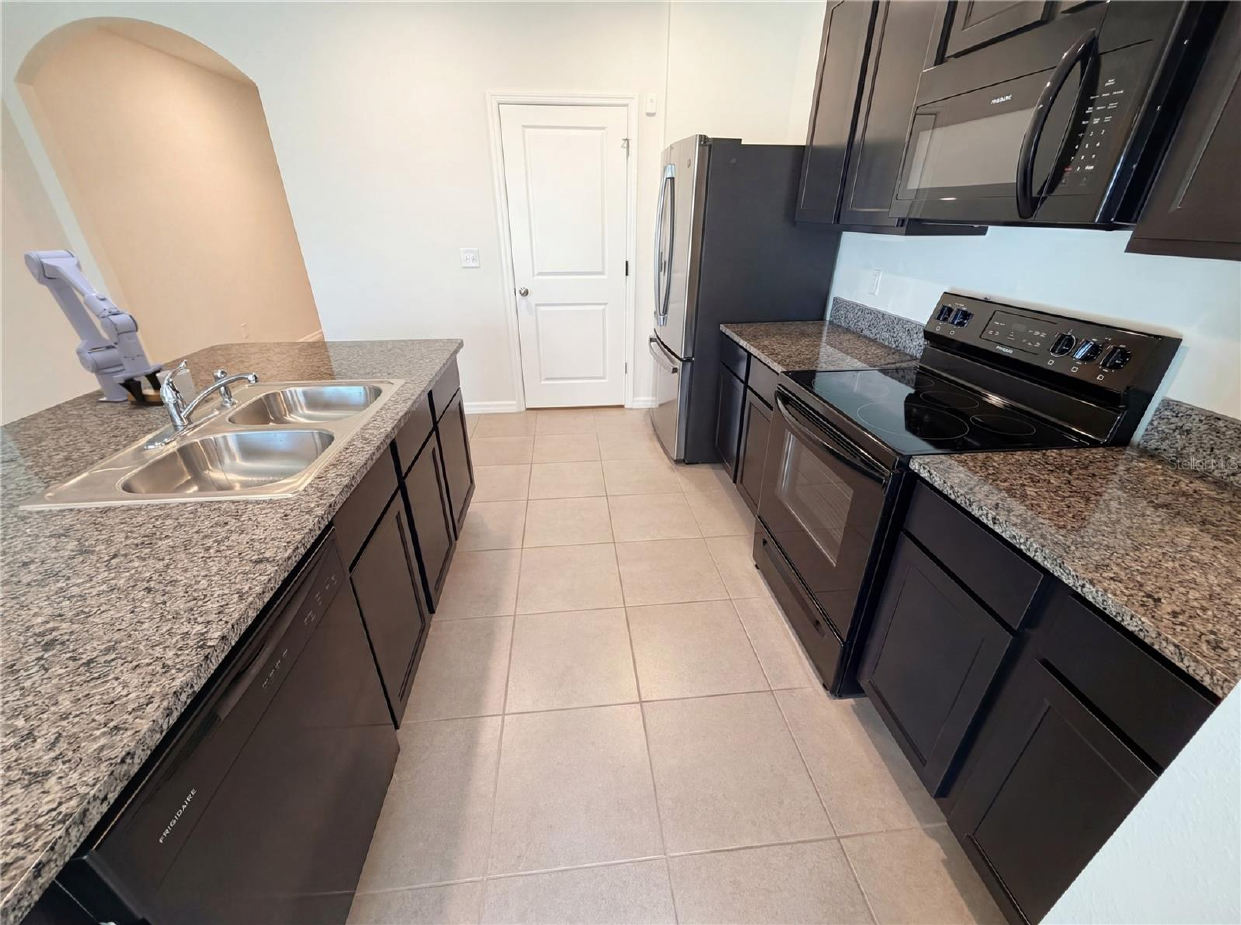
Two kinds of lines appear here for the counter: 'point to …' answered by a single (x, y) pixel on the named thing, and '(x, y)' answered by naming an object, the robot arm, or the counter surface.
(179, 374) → the white cup
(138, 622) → the counter surface
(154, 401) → the scrub brush
